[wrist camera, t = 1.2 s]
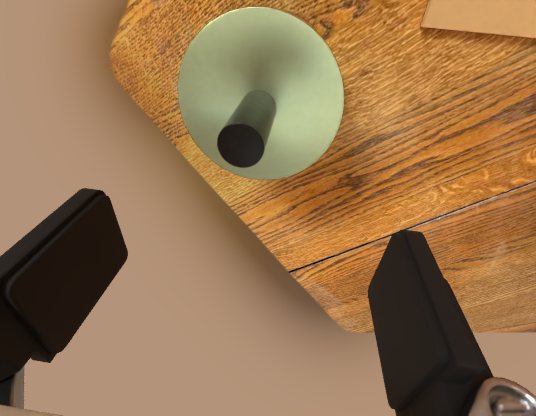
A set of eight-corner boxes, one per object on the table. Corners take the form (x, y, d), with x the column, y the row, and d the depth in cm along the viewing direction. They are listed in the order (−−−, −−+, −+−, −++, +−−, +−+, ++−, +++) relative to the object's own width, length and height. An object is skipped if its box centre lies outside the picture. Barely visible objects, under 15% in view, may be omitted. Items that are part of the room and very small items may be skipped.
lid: (190, 163, 25) (152, 217, 19) (173, -3, 18) (102, -3, 12) (324, 181, 25) (328, 242, 18) (363, 16, 17) (390, 26, 11)
